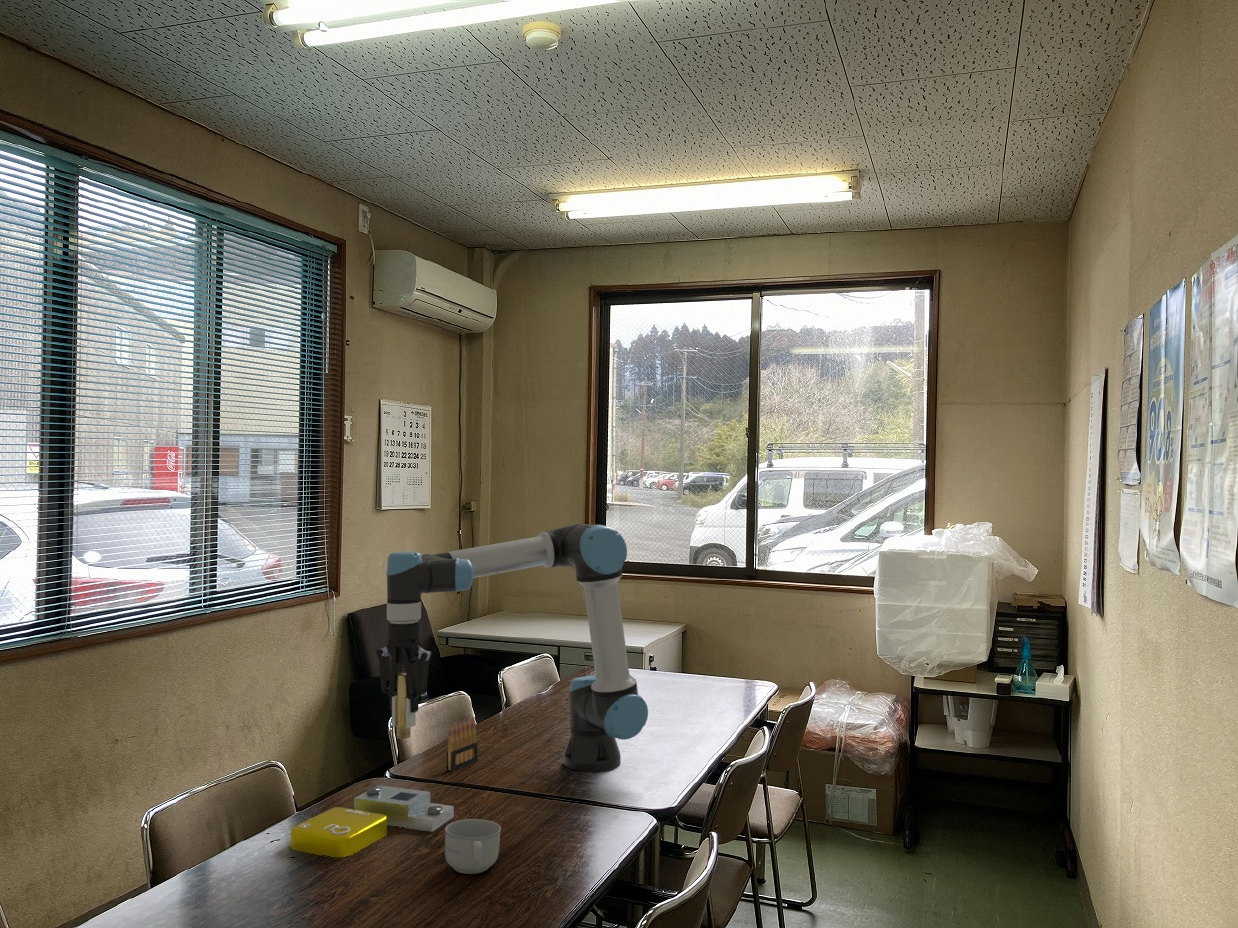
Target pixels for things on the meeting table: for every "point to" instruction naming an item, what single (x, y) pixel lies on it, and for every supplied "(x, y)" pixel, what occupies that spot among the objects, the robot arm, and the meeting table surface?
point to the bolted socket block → (404, 807)
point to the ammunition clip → (462, 745)
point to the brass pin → (402, 706)
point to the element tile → (338, 832)
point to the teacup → (472, 845)
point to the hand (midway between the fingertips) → (403, 725)
